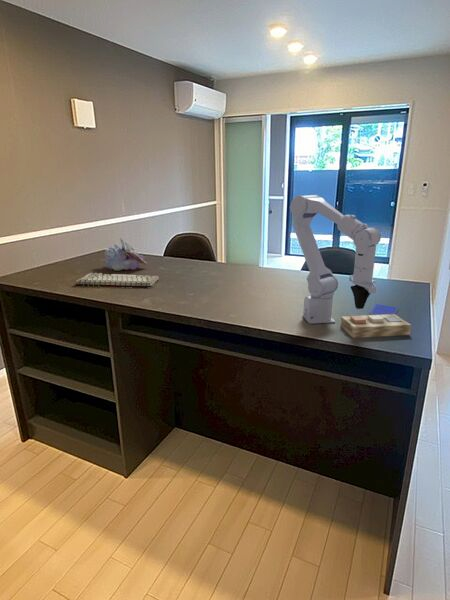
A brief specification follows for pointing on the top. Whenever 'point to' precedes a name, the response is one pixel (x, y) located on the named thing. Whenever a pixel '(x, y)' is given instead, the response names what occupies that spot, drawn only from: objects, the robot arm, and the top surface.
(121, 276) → the mechanical keyboard
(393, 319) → the slate key
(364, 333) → the key panel
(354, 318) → the terracotta key
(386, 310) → the hard drive
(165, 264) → the top surface
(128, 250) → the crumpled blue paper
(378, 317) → the white key
